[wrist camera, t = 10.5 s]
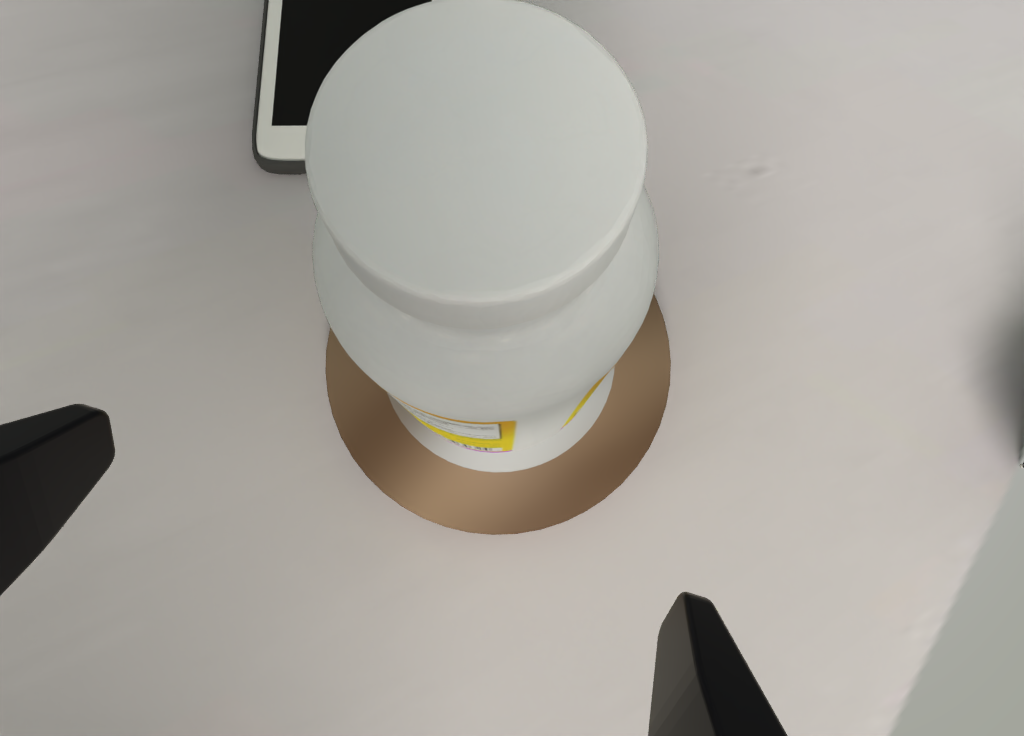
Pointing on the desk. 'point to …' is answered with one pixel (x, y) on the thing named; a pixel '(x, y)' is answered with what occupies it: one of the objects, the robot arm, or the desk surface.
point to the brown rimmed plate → (515, 475)
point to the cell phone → (303, 68)
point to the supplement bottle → (482, 216)
